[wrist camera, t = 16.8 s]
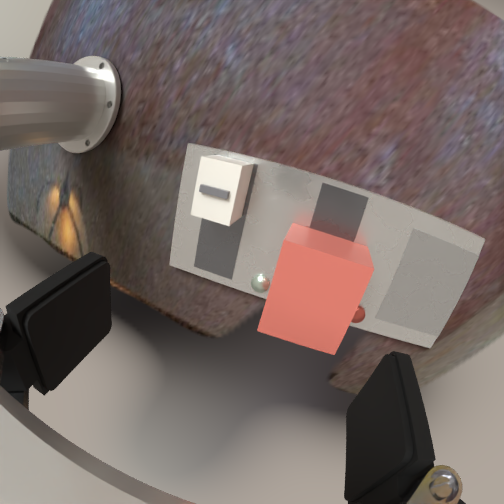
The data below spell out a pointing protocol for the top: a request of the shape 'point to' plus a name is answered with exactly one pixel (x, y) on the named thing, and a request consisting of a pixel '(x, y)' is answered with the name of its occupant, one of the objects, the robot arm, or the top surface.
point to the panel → (337, 224)
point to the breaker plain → (221, 189)
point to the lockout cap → (315, 288)
